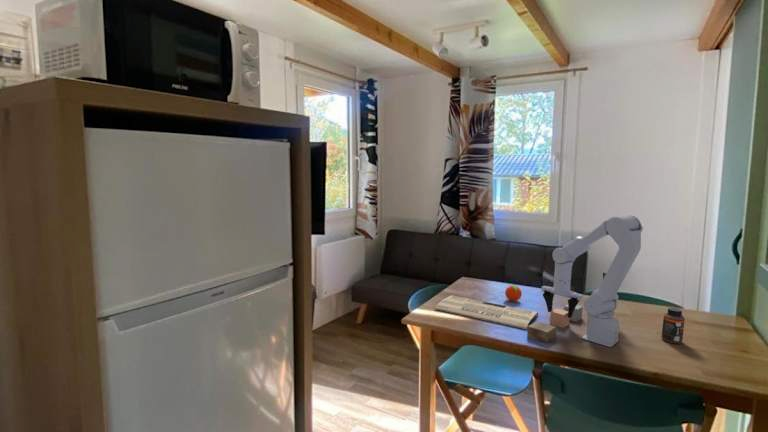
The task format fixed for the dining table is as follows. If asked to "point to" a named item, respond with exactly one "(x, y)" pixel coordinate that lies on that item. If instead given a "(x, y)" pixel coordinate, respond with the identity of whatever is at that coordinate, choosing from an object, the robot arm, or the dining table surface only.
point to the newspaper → (487, 311)
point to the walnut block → (541, 332)
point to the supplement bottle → (673, 326)
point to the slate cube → (575, 312)
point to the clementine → (513, 293)
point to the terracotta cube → (559, 318)
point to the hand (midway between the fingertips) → (559, 314)
